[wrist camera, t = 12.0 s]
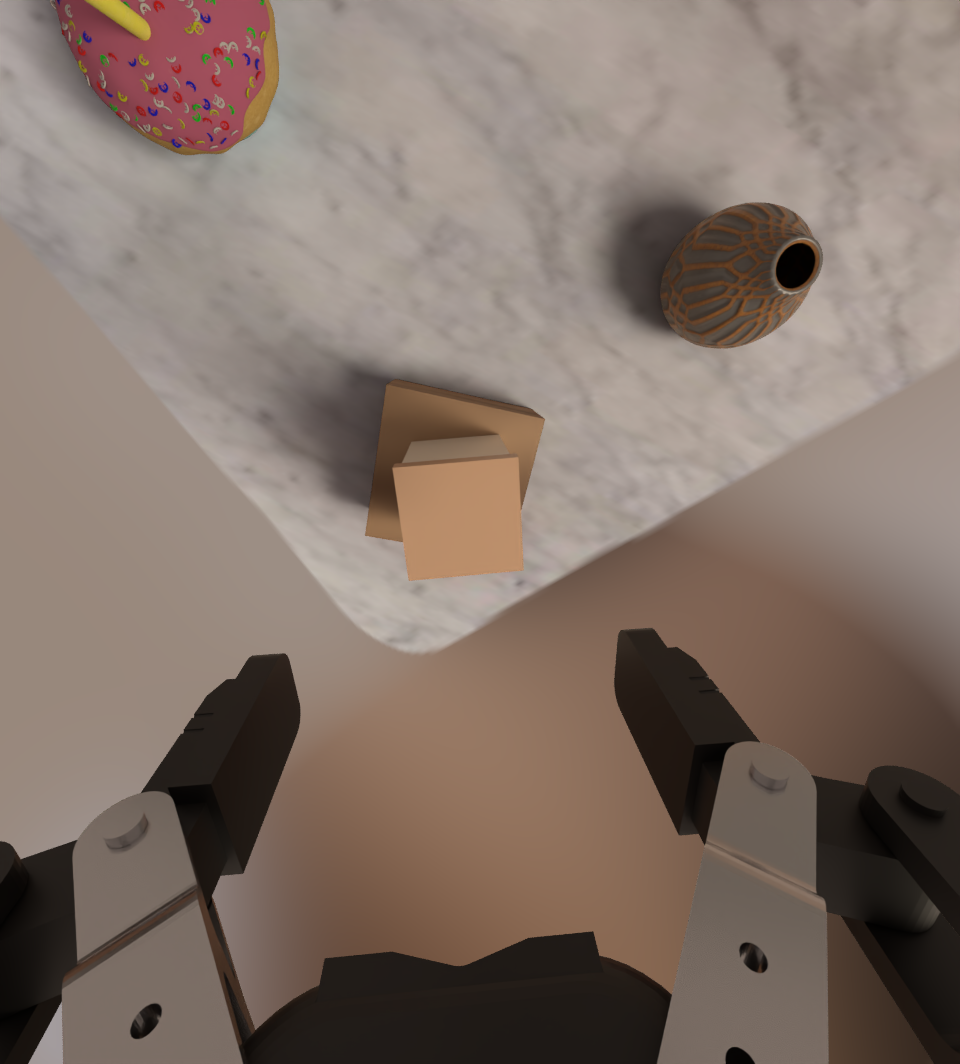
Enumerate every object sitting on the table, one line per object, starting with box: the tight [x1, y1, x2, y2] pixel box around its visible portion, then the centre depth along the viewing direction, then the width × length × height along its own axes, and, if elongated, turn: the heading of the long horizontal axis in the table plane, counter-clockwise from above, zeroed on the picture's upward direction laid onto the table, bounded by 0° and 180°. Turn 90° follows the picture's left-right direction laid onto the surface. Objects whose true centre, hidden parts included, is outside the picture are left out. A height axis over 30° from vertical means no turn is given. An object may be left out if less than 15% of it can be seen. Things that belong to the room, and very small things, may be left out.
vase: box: [661, 203, 823, 348], centre depth 25 cm, size 7×7×9 cm
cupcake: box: [50, 0, 279, 155], centre depth 18 cm, size 9×8×12 cm
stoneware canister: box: [392, 434, 523, 581], centre depth 24 cm, size 5×5×7 cm
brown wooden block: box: [365, 379, 545, 542], centre depth 30 cm, size 9×9×5 cm
